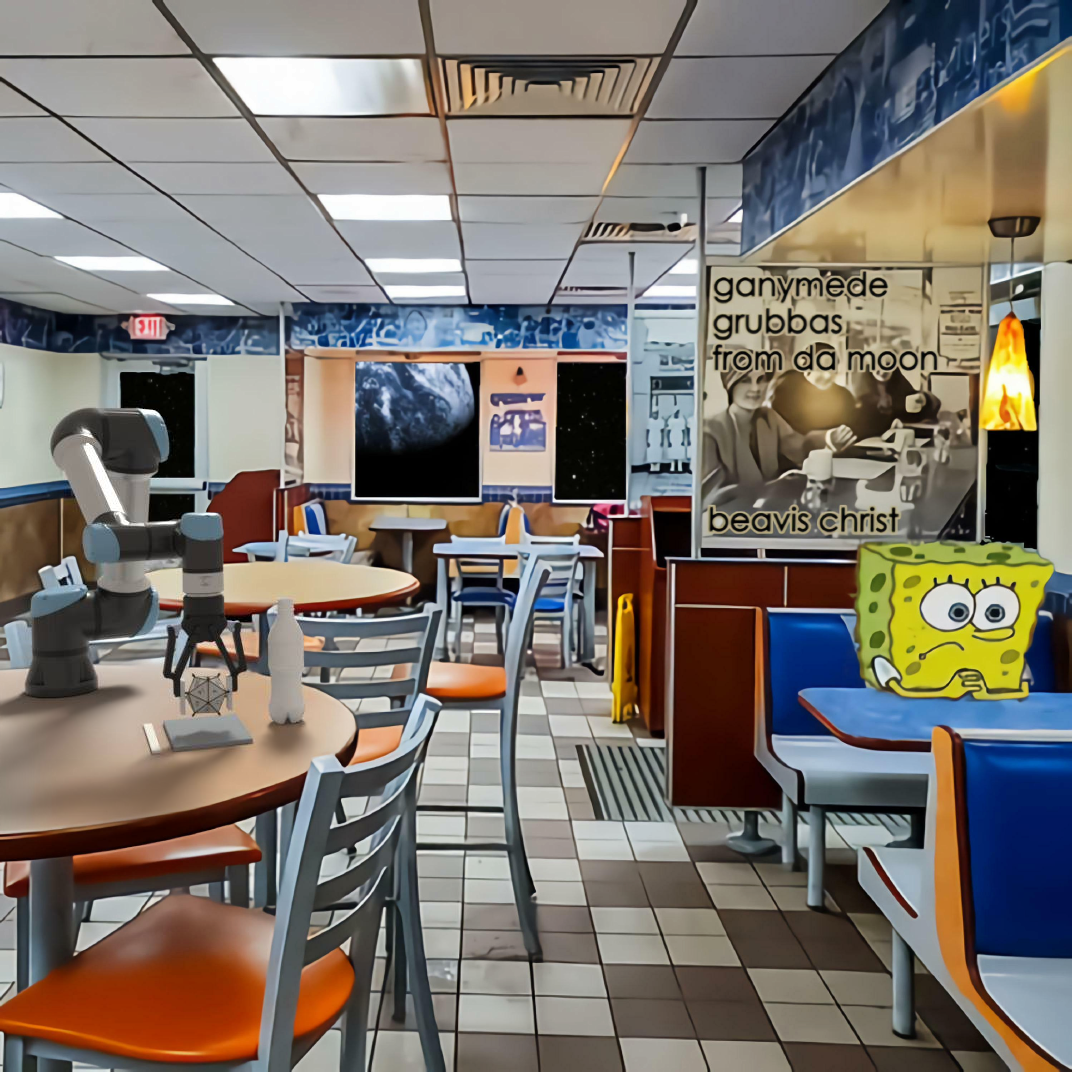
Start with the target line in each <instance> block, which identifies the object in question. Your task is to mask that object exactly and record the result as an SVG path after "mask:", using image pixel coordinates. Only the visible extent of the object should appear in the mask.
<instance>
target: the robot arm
mask: <svg viewBox="0 0 1072 1072" xmlns="http://www.w3.org/2000/svg"><path fill="white" fill-rule="evenodd" d="M169 441H170V440H169V435H168V430H167V426H166V424H165V420H164V419H163V417H162V416H161V414H160V413H159V412H158V411H156V410H153V409H145V408H144V409H143V408H139V407H136V408H135V407H134V408H132V407H130V408H129V407H125V408H124V407H123V408H120V407H118V408H117V407H116V408H115V407H112V408H111V407H106V408H105V407H98V408H97V407H83V408H80V409H76V410H74V411H72V412H70V413H69V414H67V415H65V416H64V417H63V418H62V419H61V420H60V421H59V422H58V424H57V425H56V427H55V428H54V430H53V432H52V434H51V437H50V444H49V445H50V447H49V448H50V454H51V457H52V459H53V462H54V464H55V465H56V467H57V468H59V469H60V470H61V471H63V472H64V474H65V476H66V479H67V481H68V483H69V485H70V487H71V488H70V489H72V492H73V494H74V496H75V499H76V502H77V504H78V506H79V508H80V510H81V514H82V515H83V517H84V519H85V523H86V524H87V525H86V526H85V527H84V530H83V533H82V547H83V553H84V557H85V559H86V560H87V561H88V563H91V564H105V566H104V567H105V568H104V574H103V575H101V576H100V577H99V578H98V579H97V584H96V589H90V590H89V589H88V588H87V585H85V584H83V583H82V584H79V583H77V584H67V585H60V586H54V587H50V588H45V589H42V590H40V591H38V592H36V593H34V595H33V596H32V597H31V598H30V599H31V601H30V613H29V617H30V622H31V623H30V625H31V626H30V628H31V649H32V650H31V651H32V652H31V653H32V659H31V662H30V666H29V670H28V672H27V675H26V679H25V682H24V693H25V695H27V696H30V697H34V698H35V697H36V698H60V697H62V698H63V697H71V696H77V695H83V694H87V693H90V692H93V691H95V690H97V689H98V688H99V676H98V674H97V672H96V669H95V666H94V664H93V661H92V658H91V656H90V648H89V647H90V645H89V643H90V642H95V641H104V640H116V639H125V638H129V639H132V638H135V637H141V636H145V635H148V634H150V633H151V632H152V631H153V630H154V628H155V626H156V624H157V621H158V617H159V613H160V603H159V599H160V597H159V592H158V591H157V589H156V587H155V586H153V585H152V581H151V580H150V579H149V578H148V577H147V576H146V575H145V574H146V561H147V562H148V561H163V560H164V561H166V560H181V568H182V570H181V571H182V573H181V574H182V577H181V578H182V580H181V581H182V592H183V593H184V594H185V595H184V596H183V597H182V609H183V610H182V613H183V615H182V619H181V622H180V623H177V624H168V625H167V626H166V632H167V641H166V642H167V643H166V650H165V655H164V663H163V668H162V675H163V677H164V679H168V680H171V681H172V684H173V685H172V688H173V695H174V696H173V697H174V698H179V712H180V715H181V716H184V715H186V711H187V710H186V698H185V696H186V694H185V692H186V683H185V682H186V680H185V679H184V678H183V673H184V671H185V669H186V667H187V664H188V663H189V659H190V658H191V655H192V653H193V650H194V648H195V646H196V644H202V643H205V642H207V643H215V646H216V648H217V649H218V651H219V653H220V655H221V657H222V659H223V661H224V664H225V666H226V667H227V669H228V671H229V673H226V674H225V690H226V691H227V690H229V691H231V692H230V693H226V698H225V699H226V701H225V702H226V703H225V704H226V708H227V710H228V711H233V708H234V705H233V693H235V692H236V693H237V692H238V690H239V686H238V685H239V684H238V683H239V682H238V679H239V678H238V677H239V675H240V674H241V673H245V672H247V670H248V665H247V660H246V655H245V651H244V646H243V642H242V641H243V640H242V636H241V635H242V634H241V631H242V626H243V624H242V623H241V622H240V621H239V620H234V621H232V620H227V618H226V616H225V615H226V614H225V596H224V594H223V593H222V592H223V591H224V590H225V582H224V581H225V580H224V532H225V531H224V528H223V518H222V516H221V514H219V513H217V512H187V513H186V512H185V513H184V514H183V515H182V516H181V519H175V518H174V519H172V520H166V521H165V520H162V521H149V510H150V509H149V507H150V506H149V505H150V491H151V490H150V489H151V478H152V476H154V475H155V474H157V473H158V471H159V463H163V462H165V461H167V460H168V458H169V457H168V456H169V454H170V442H169ZM227 627H228V630H229V632H231V635H232V640H233V644H234V650H235V654H236V655H235V656H236V660H237V666H236V665H235V664H234V662H233V659H232V657H231V656H230V653H229V652H228V649H227V647H226V646H225V644H224V641H223V639H222V637H221V635H222V633H223V632H224V631H225V629H226V628H227ZM182 630H183V632H184V633H185V634H186V635H187V638H186V641H185V645H184V647H183V649H182V652H181V654H180V657H179V659H178V662H177V664H176V666H175V668H174V671H172V668H173V663H174V656H175V655H174V654H175V650H176V644H177V637H178V636H179V635H180V631H182Z"/></svg>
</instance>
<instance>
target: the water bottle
mask: <svg viewBox="0 0 1072 1072" xmlns="http://www.w3.org/2000/svg"><path fill="white" fill-rule="evenodd" d="M294 607H295V606H294V598H293V597H290V596H289V597H285V596H284V597H278V598H277V606H276V611H277V613H276V618H275V620H274V622H273V624H272V626H271V628H270V631H269V632H268V636H267V643H268V644H267V646H268V647H267V654H268V655H267V656H268V658H267V659H268V661H267V662H268V663H267V664H268V665H267V666H268V670H269V674H270V681H271V682H270V683H271V684H270V685H271V688H270V689H271V690H270V699H269V703H268V714H269V717H270V718H271V720H272V721H273V722H275V723H277V724H279V725H284V724H285V722H286V720H287V719H289V721H290V723H292V724H296V722H297V723H298V722H300V720H302V718H303V716H304V714H305V711H306V703H305V700H304V695H303V694H304V693H303V685H302V679H303V670H304V668H305V662H304V661H305V659H304V658H305V649H304V647H305V646H304V641H305V636H304V632H303V631H302V629H301V628H302V627H300V624H299V623H298V621H297V619H296V617H295V613H294V611H295V608H294Z"/></svg>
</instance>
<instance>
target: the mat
mask: <svg viewBox="0 0 1072 1072" xmlns="http://www.w3.org/2000/svg"><path fill="white" fill-rule="evenodd" d="M163 727H164V730H165V731H166V734H167V737H168V740H169V742H170V744H171V747H172V749H173V752H181V751H190V750H199V749H200V750H201V749H208V748H209V749H210V748H217V747H226V746H234V745H235V746H236V745H243V744H244V745H245V744H253V743H254V739H253V738H254V737H252V735H251V733H250V732H249V731H248V729H247V728H246V726H245V725H244V723H243V722H242V721H241V719H240V717H239V716H238V714H237V713H228V714H221V716H219V715H218V714H217V715H207V716H198V717H187V718H179V719H178V718H177V719H168V720H167V719H166V720H163Z"/></svg>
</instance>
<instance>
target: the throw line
mask: <svg viewBox="0 0 1072 1072" xmlns="http://www.w3.org/2000/svg"><path fill="white" fill-rule="evenodd" d="M143 730H144V733H145V735H146V739H147V742H148V746H149V748H150V750H151V754H152V755H155V754H162V750H161V745H160V744H159V741H158V738H157V735H156V732H155V729H154V726H153V723H151V722H150V723H143Z"/></svg>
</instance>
